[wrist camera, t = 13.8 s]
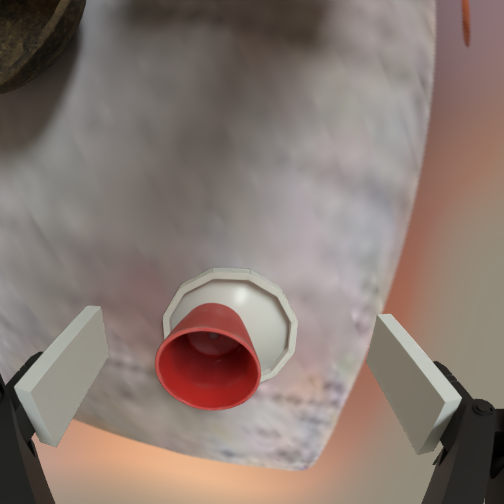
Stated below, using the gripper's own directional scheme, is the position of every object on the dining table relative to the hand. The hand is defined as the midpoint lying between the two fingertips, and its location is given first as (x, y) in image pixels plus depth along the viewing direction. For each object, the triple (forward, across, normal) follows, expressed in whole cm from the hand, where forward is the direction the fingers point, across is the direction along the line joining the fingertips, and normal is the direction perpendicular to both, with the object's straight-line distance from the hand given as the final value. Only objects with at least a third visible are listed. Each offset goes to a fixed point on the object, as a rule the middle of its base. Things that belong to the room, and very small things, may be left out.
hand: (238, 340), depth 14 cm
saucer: (+24, -1, -13) cm, 27 cm away
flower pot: (+23, -3, -13) cm, 27 cm away
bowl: (+25, -30, +28) cm, 48 cm away
